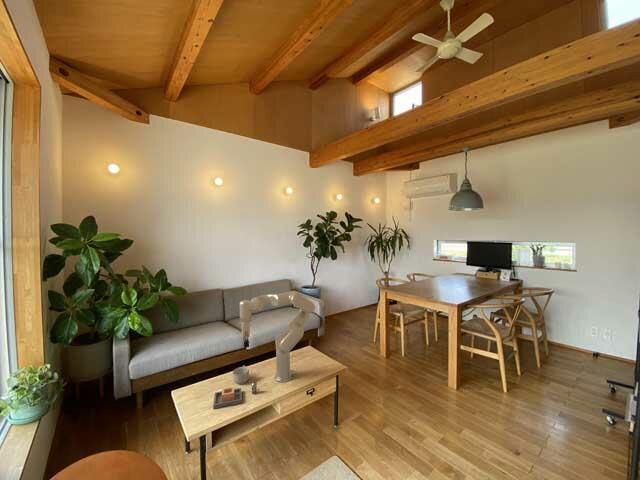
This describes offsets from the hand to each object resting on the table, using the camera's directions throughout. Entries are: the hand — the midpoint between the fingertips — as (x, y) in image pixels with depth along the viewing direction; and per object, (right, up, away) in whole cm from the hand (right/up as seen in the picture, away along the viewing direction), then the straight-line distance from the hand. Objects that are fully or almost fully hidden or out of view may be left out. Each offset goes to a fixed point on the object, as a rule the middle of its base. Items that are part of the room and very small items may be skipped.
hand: (246, 344), depth 179 cm
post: (+7, -28, -8) cm, 30 cm away
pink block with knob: (-7, -28, -14) cm, 32 cm away
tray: (-7, -29, -14) cm, 33 cm away
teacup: (-5, -28, +7) cm, 30 cm away
